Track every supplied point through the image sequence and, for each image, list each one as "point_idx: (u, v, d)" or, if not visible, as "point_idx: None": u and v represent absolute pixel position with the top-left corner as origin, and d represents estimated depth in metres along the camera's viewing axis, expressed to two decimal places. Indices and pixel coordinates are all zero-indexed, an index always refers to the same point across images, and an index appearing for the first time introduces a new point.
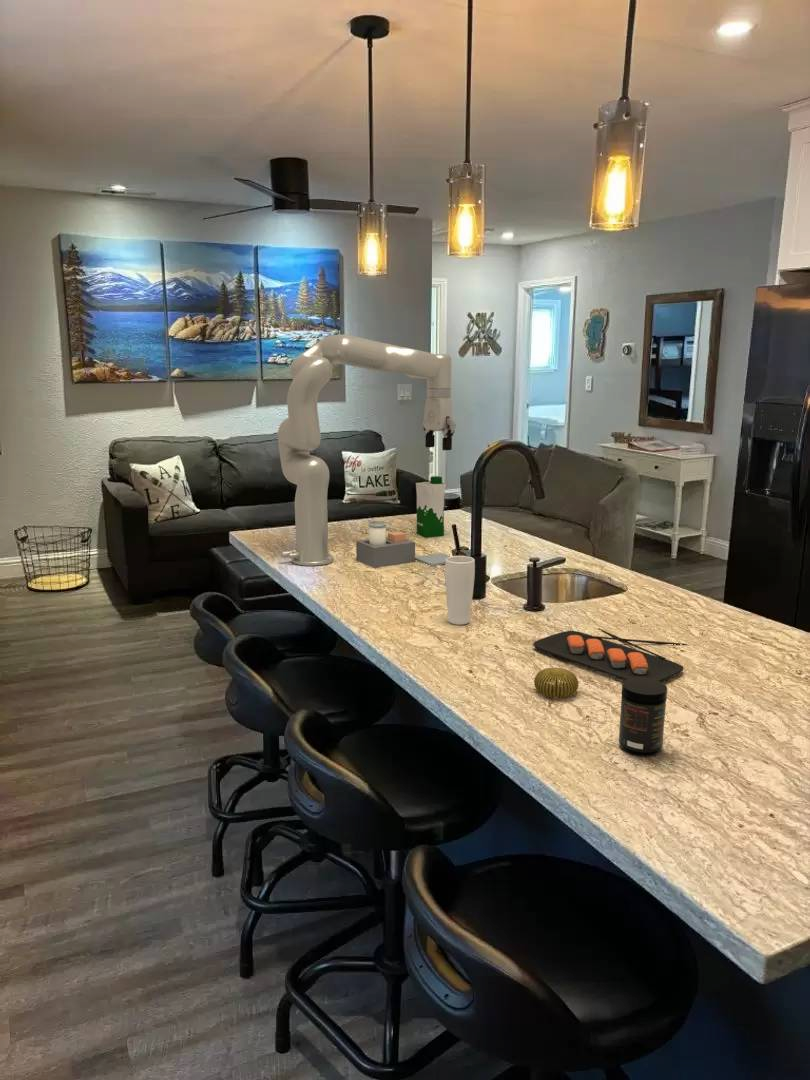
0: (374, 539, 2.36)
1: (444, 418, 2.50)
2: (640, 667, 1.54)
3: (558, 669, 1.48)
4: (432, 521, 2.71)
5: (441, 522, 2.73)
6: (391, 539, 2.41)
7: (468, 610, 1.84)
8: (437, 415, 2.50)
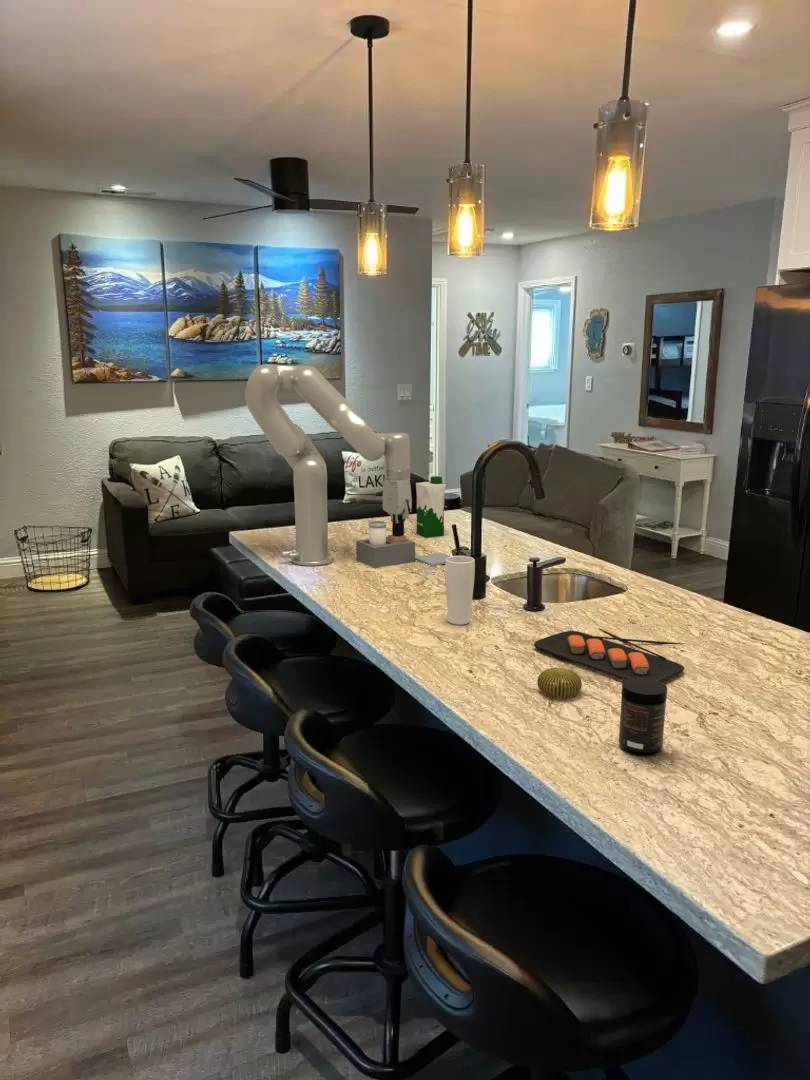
0: (374, 539, 2.36)
1: (403, 501, 2.35)
2: (641, 667, 1.54)
3: (561, 669, 1.48)
4: (432, 521, 2.71)
5: (441, 522, 2.73)
6: None
7: (468, 610, 1.84)
8: (395, 498, 2.35)
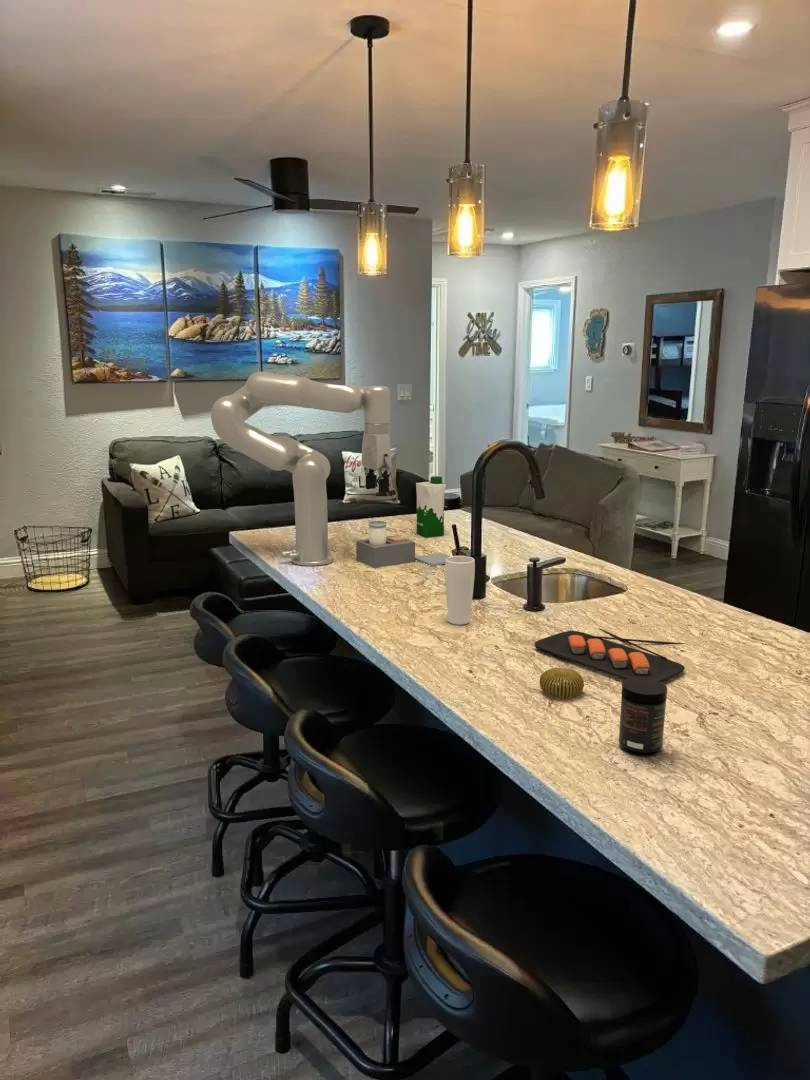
0: (374, 539, 2.36)
1: (382, 456, 2.28)
2: (642, 667, 1.54)
3: (563, 669, 1.48)
4: (432, 521, 2.71)
5: (441, 522, 2.73)
6: None
7: (468, 610, 1.84)
8: (374, 453, 2.29)
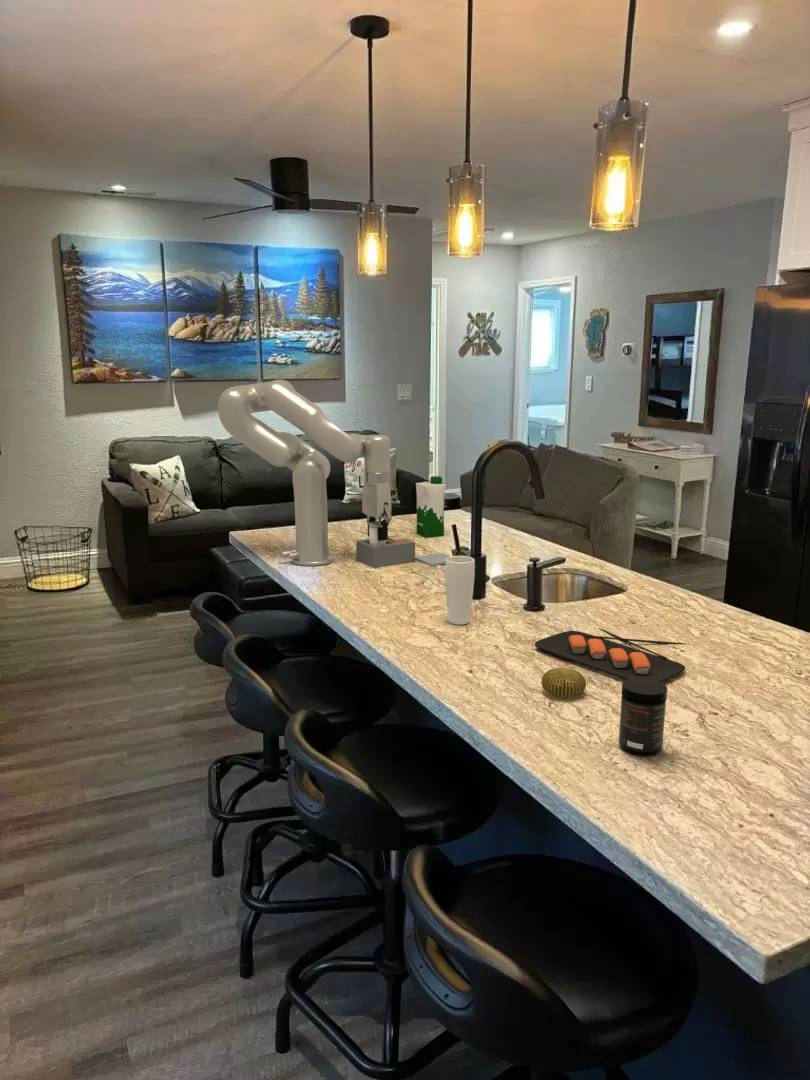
0: (374, 539, 2.36)
1: (382, 504, 2.31)
2: (642, 667, 1.54)
3: (565, 669, 1.48)
4: (432, 521, 2.71)
5: (441, 522, 2.73)
6: None
7: (468, 610, 1.84)
8: (374, 501, 2.32)
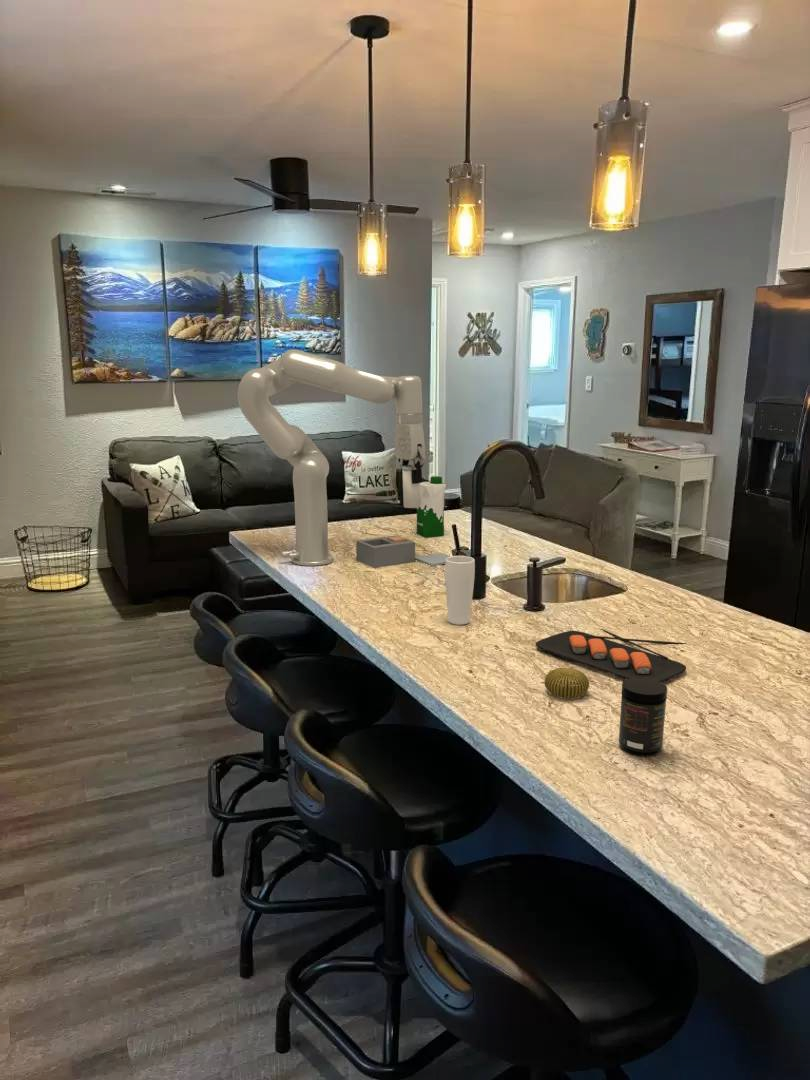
0: (408, 482, 2.33)
1: (415, 446, 2.28)
2: (643, 666, 1.54)
3: (568, 669, 1.48)
4: (432, 521, 2.71)
5: (441, 522, 2.73)
6: None
7: (468, 610, 1.84)
8: (408, 443, 2.29)
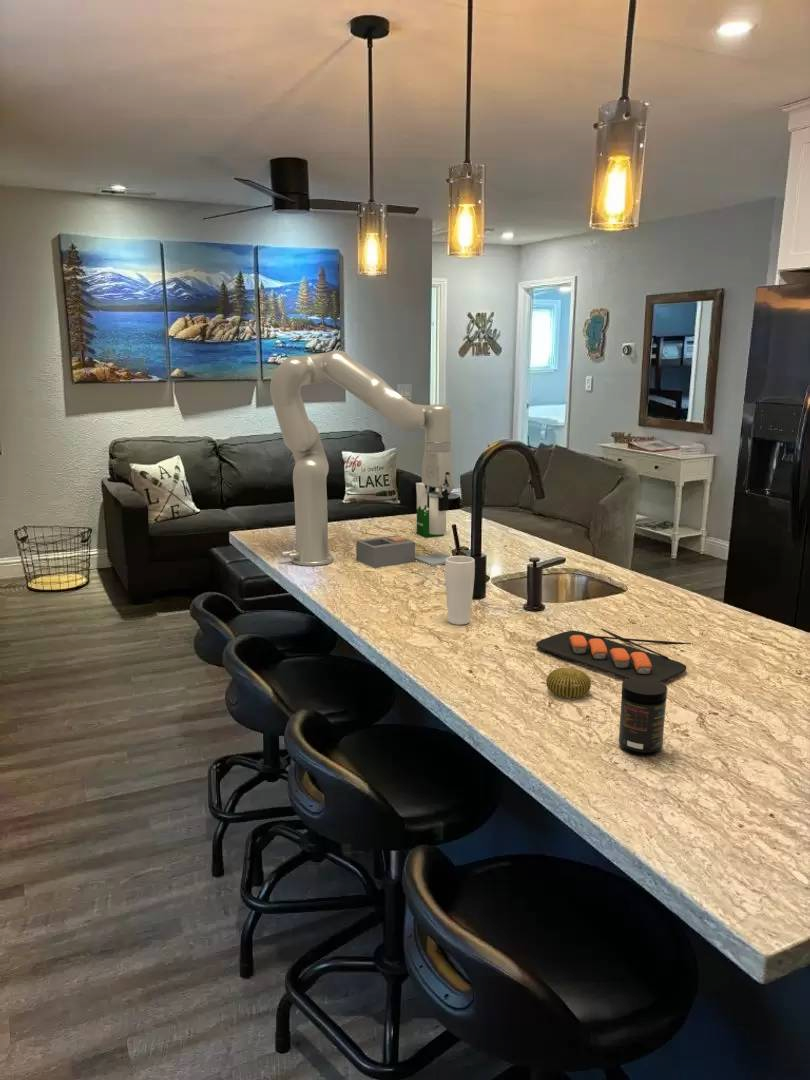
0: (435, 509, 2.36)
1: (443, 474, 2.31)
2: (644, 666, 1.54)
3: (570, 669, 1.48)
4: None
5: None
6: None
7: (468, 610, 1.84)
8: (436, 471, 2.31)
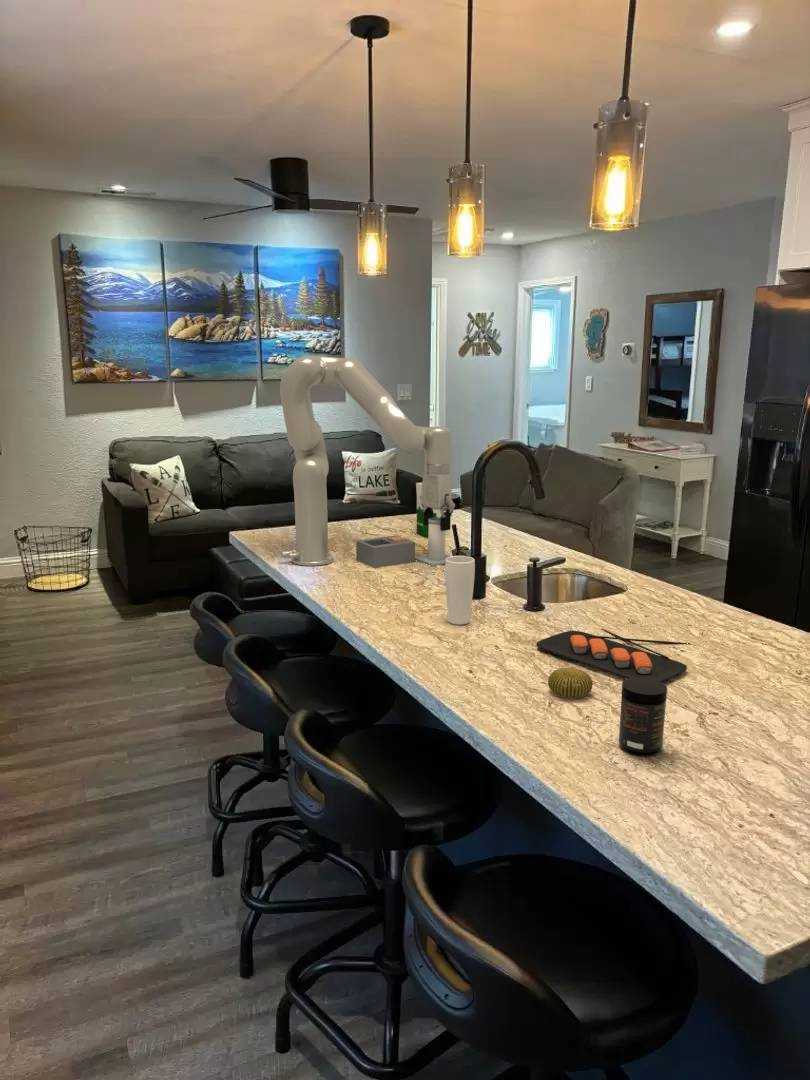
0: (434, 535, 2.37)
1: (443, 496, 2.32)
2: (644, 666, 1.54)
3: (572, 669, 1.48)
4: None
5: None
6: None
7: (468, 610, 1.84)
8: (435, 493, 2.33)
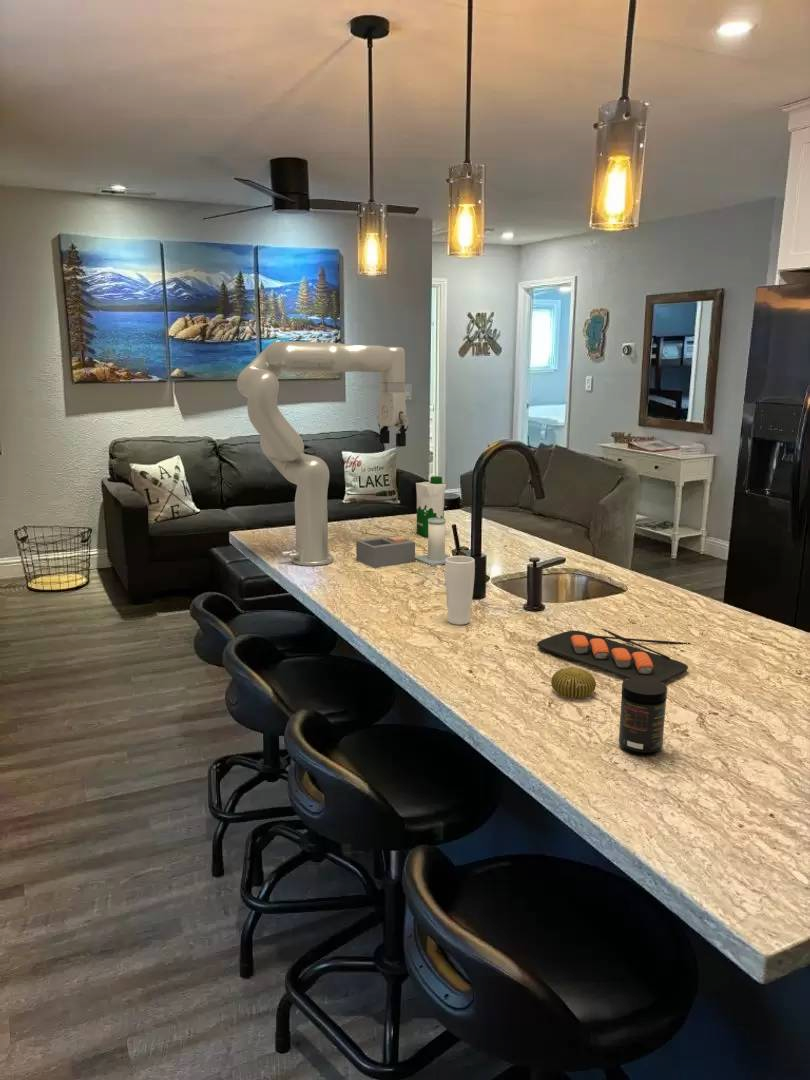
0: (434, 535, 2.37)
1: (397, 413, 2.41)
2: (645, 666, 1.54)
3: (575, 669, 1.48)
4: None
5: None
6: None
7: (468, 610, 1.84)
8: (390, 410, 2.41)
